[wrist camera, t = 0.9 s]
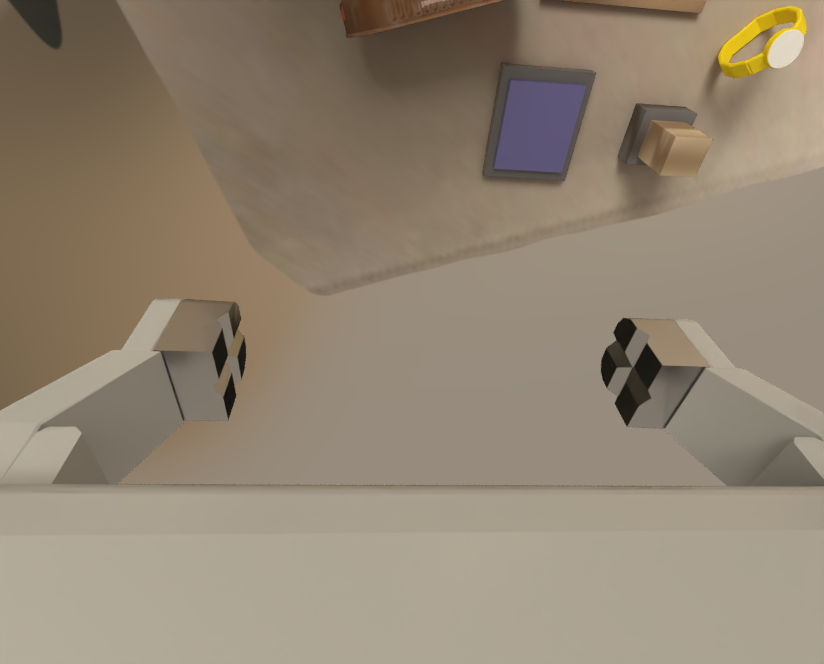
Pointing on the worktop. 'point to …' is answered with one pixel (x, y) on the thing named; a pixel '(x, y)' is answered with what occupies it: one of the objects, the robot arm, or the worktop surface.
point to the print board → (654, 4)
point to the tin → (398, 13)
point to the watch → (777, 49)
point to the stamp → (664, 140)
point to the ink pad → (536, 121)
